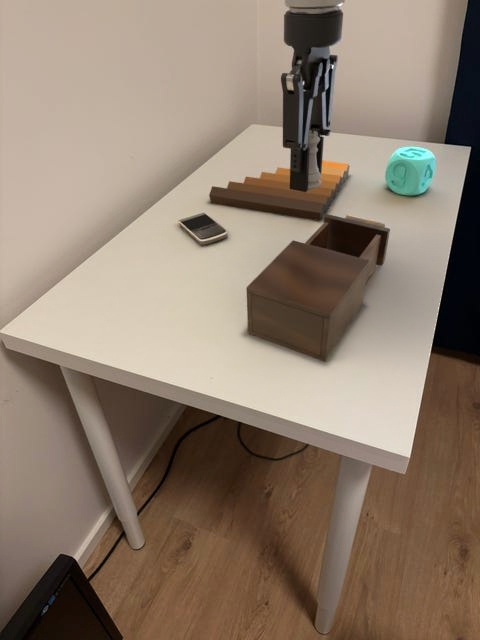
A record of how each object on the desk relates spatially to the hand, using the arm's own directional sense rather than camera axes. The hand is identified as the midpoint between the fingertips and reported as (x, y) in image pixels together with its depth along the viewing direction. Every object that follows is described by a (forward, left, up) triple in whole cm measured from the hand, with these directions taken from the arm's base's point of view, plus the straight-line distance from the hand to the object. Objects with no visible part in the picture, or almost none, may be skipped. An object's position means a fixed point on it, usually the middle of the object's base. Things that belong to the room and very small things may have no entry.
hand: (305, 183), depth 76 cm
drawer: (-7, -3, -15) cm, 17 cm away
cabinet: (-7, +13, -16) cm, 21 cm away
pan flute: (+18, -27, -16) cm, 36 cm away
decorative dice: (-7, -40, -16) cm, 44 cm away
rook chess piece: (0, 0, 0) cm, 1 cm away
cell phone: (+23, -2, -16) cm, 28 cm away
